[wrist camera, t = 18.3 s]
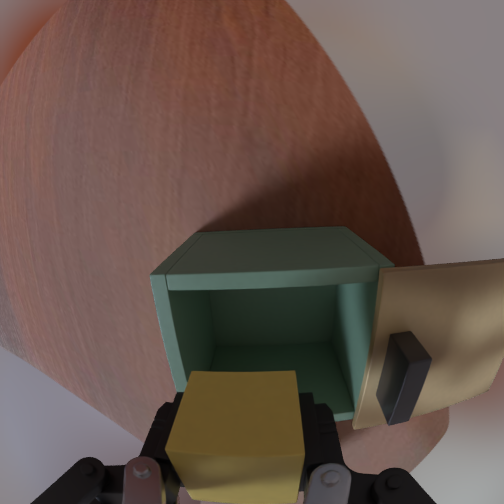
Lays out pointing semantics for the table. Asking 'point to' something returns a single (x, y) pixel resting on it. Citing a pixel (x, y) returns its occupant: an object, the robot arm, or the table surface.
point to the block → (239, 437)
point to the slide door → (432, 339)
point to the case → (272, 307)
